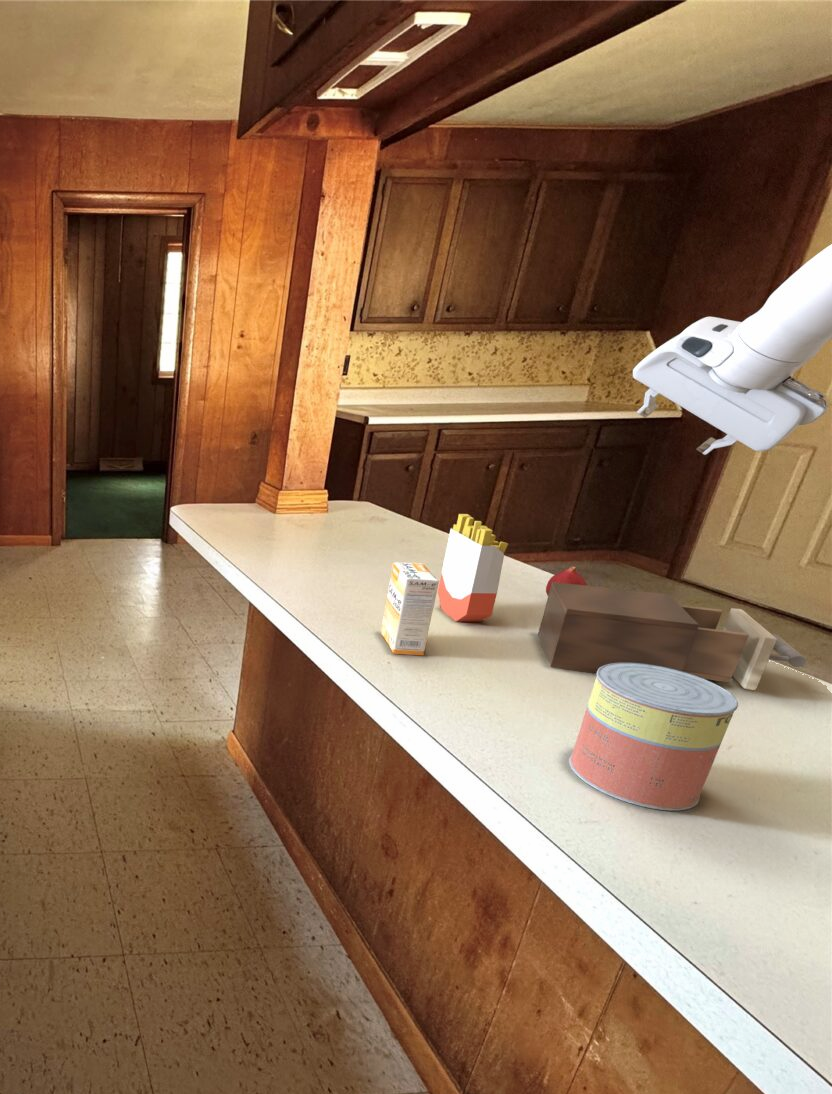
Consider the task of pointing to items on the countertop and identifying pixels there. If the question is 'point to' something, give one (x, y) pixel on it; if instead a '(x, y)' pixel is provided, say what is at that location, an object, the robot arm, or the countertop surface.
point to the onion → (566, 578)
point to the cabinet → (613, 628)
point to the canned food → (651, 734)
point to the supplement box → (409, 608)
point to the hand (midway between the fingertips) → (672, 431)
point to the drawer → (734, 648)
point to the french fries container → (470, 571)
